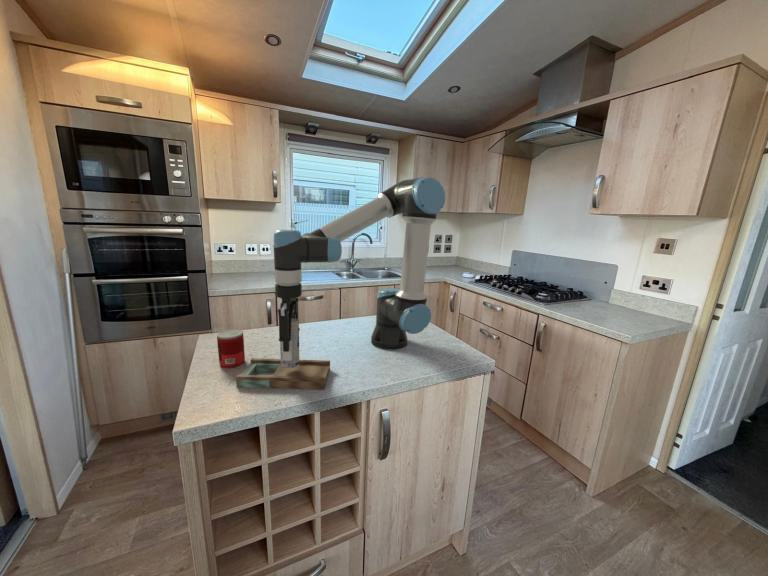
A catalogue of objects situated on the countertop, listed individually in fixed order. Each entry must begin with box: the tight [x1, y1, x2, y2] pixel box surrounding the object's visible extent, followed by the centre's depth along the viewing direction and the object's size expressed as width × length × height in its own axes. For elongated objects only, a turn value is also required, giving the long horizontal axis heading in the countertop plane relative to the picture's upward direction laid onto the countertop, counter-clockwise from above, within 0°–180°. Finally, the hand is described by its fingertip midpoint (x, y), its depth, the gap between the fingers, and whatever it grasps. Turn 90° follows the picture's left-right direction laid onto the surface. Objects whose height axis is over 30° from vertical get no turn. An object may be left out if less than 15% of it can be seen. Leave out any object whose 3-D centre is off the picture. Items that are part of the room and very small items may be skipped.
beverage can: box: [279, 318, 300, 368], centre depth 95 cm, size 6×6×15 cm
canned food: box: [216, 328, 246, 369], centre depth 105 cm, size 8×8×11 cm
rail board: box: [235, 357, 331, 391], centre depth 98 cm, size 26×12×4 cm, turn 91°
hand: (290, 355), depth 96 cm, fingers closed on beverage can, 5 cm apart
